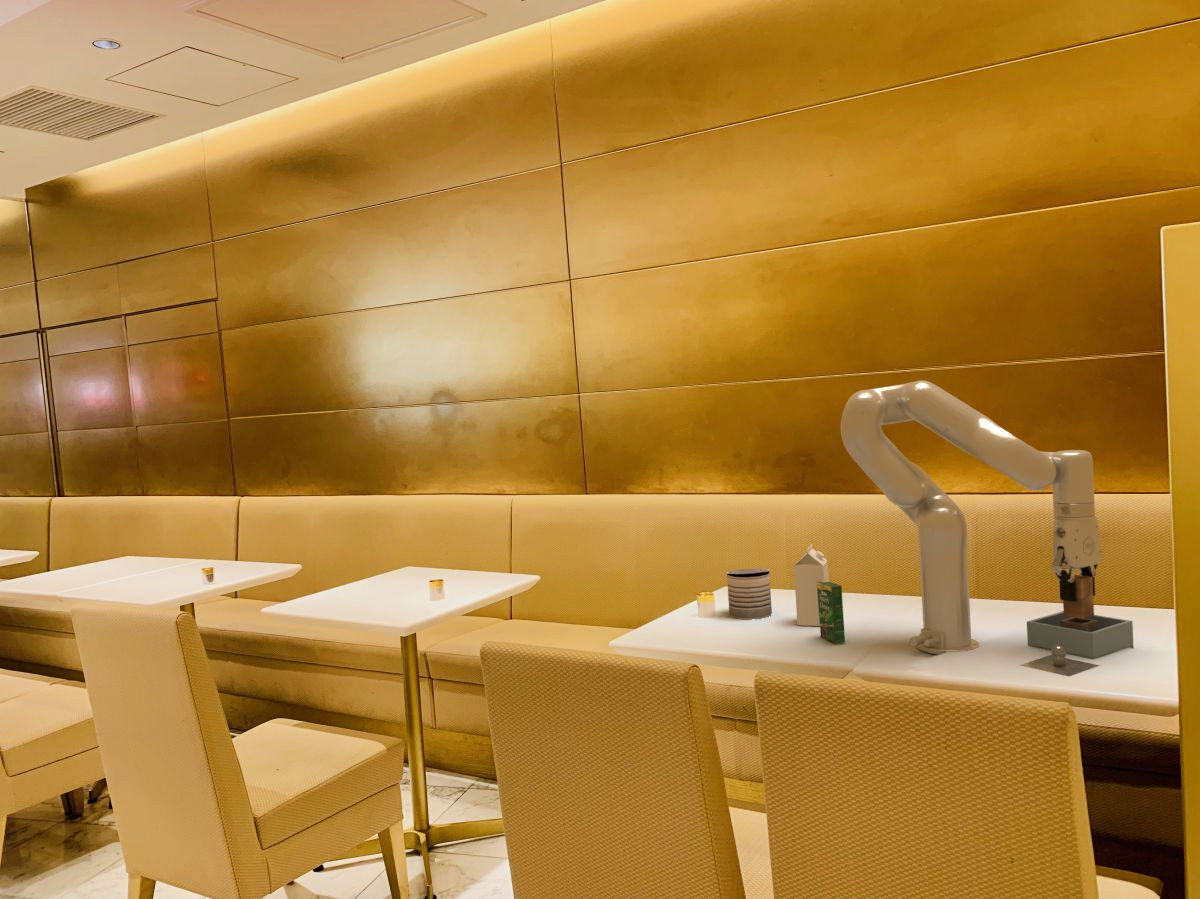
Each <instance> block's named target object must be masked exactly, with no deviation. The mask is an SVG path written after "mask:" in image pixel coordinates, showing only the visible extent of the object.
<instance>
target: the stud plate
mask: <svg viewBox="0 0 1200 899" xmlns="http://www.w3.org/2000/svg"><path fill="white" fill-rule="evenodd" d="M1050 652H1051V654H1050V655H1046V656H1042V657H1039V658H1036V659H1033V660H1030V661H1027V662H1025V663H1021V664H1020V666H1021V667H1025V668H1030V669H1033V670H1038V671H1042V672H1043V671H1044V672H1048V673H1052V674H1055V675H1059V676H1064V677H1069V678H1070V677H1072V676H1075V675H1078V674H1081V673H1084V672H1086V671H1089V670H1091V669H1095V668H1096V667H1097V668H1098V667H1100V666H1101V665H1100V664H1095V663H1090V662H1086V661H1082V660H1075V659H1071V658H1067V657H1066V656H1067V654H1066V649H1065V648H1064V647H1063V646H1061V645H1055V646H1054V647H1053V648H1052V650H1050Z"/></svg>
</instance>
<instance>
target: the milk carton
mask: <svg viewBox="0 0 1200 899" xmlns="http://www.w3.org/2000/svg"><path fill="white" fill-rule="evenodd" d="M813 546H814V545H813V544H810V545H809V546H808V548H806V551H807V552H806V553H805V554H804V555H803V556H802V557H801V558H800V559H798V560H797V562H795V563H794V565H793V572H794V573H793V574H794V575H793V576H794V588H795V590H794V592H795V608H796V610H795V611H796V624H797V626H804V627H806V626H808V627H810V626H811V627H820V620H819V607H818V594H817V582H818V581H829V582H830V580H829V567H828V566H829V565H828V564H829V563H828V560H827V559H826V558H825V555H824V553H822V551H819V550H817V551H816V550H815V549H814V547H813Z"/></svg>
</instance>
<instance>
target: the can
mask: <svg viewBox="0 0 1200 899" xmlns="http://www.w3.org/2000/svg"><path fill="white" fill-rule="evenodd" d="M770 570H771V569H770V568H745V569H744V568H742V569H736V570H729V571H727V572H726V582H727V597H728V598H727V599H728V612H729V613H728V614H729V617H730V618H732V619H735V620H743V621H744V620H745V621H753V620H752V619H755V620H763V619H762V618H764V619H767V618H770V617H772V615H771V614H773V610H772V608H773V607H772V595H771V593H772V592H771V578H770V576H771V575H770ZM769 616H770V617H769ZM766 617H767V618H766Z"/></svg>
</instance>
